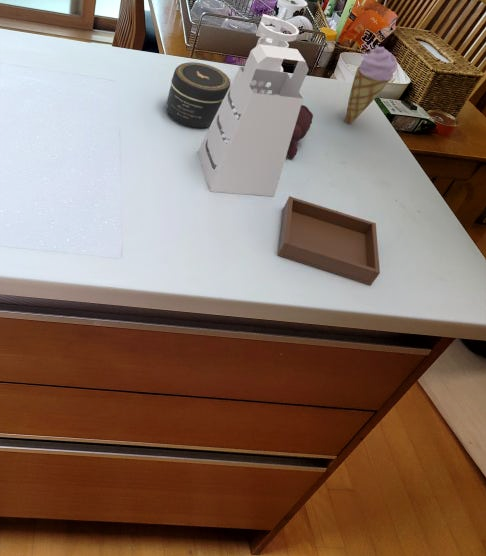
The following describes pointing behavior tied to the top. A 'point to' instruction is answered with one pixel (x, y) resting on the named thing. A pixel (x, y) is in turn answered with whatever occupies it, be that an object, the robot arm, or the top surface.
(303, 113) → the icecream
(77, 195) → the top surface
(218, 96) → the jar
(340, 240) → the tray
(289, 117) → the grater
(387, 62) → the ice cream cone
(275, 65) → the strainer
